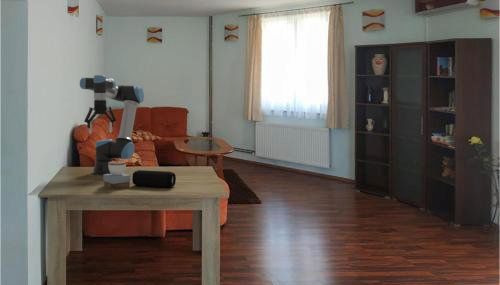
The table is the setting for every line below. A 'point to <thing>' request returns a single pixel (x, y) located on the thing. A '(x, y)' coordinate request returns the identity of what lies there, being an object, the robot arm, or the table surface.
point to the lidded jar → (117, 167)
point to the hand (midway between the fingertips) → (100, 132)
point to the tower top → (116, 178)
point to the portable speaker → (154, 178)
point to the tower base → (117, 185)
